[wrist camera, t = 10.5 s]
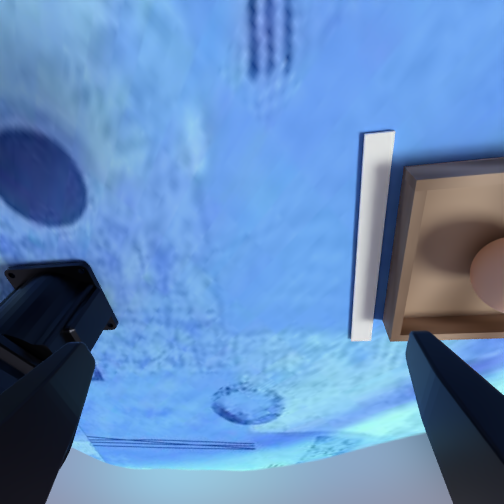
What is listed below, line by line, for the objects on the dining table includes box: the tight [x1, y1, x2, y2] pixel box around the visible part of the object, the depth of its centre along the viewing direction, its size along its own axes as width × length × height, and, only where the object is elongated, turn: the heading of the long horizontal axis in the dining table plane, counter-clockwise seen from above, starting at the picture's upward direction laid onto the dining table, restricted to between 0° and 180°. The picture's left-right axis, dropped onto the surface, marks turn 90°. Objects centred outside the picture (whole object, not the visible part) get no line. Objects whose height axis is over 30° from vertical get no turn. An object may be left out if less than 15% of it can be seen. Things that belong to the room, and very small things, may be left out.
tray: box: [383, 157, 504, 341], centre depth 20 cm, size 12×12×2 cm
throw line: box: [351, 130, 395, 341], centre depth 21 cm, size 2×16×1 cm, turn 8°
